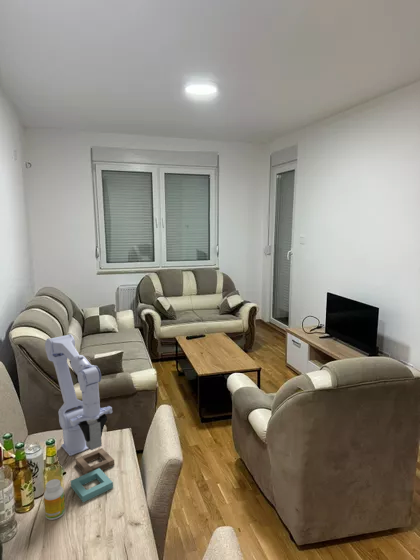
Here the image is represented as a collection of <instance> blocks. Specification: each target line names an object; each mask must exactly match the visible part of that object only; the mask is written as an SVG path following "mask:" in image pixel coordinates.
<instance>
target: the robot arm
mask: <svg viewBox="0 0 420 560" xmlns="http://www.w3.org/2000/svg"><path fill="white" fill-rule="evenodd" d="M44 348H45V352H46V357H47V359H48V361H50V362H52V363H53V367H54V369H55V373H56V377H57V381H58V385H59V389H60V392H61V395H62V400H63V404H62V405H61V406H60V408H59V409H58V421H59V425H60V428H61V429H62V437H63V441H62V442H63V443H62V444H61V447H62V449H63V450H64V451H65V452H66V453H67V455H68V456H70V457H71V456H74V455H76V454H79V453H82V452H84V451H86V450H90V449H89V448H88V447H87V446H86V441H87V442H89V426H90V425H89V424H88V422H87V421H88V420H92V419H93V420H96V419H97V420H98V421H100V426H101V438H102V437H103V432H104V427H105V424H106V422H107V421H108V416H107V415H108V414H112V413H113V407H112V406H110V405H107V406H105V407H101V403H100V401H101V399H100V390H99V389H100V387H99V385H100V382H101V381H102V373H101V370H100V368H99V366H98V365H94V364H91V363H90V361H89V360H88V359H87V357H86V356H85V355H83V354H80V353H79V352H78V349H76V340H75V338H74V336H73V334H71V333H69V334H66V335H60V336H57V337H51V338H46V340H45V341H44ZM68 360H69V361H70V362H69V363H70V364H68ZM69 365H70V367H71V369H72V371H74V373H75V375H77V381H78V384H79V389H80V391H81V398H82V399H81V400H80V399H78V397H77V394H76V389H75V385H74V383H73V379H72V375H71V372H70V368H69Z"/></svg>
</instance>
